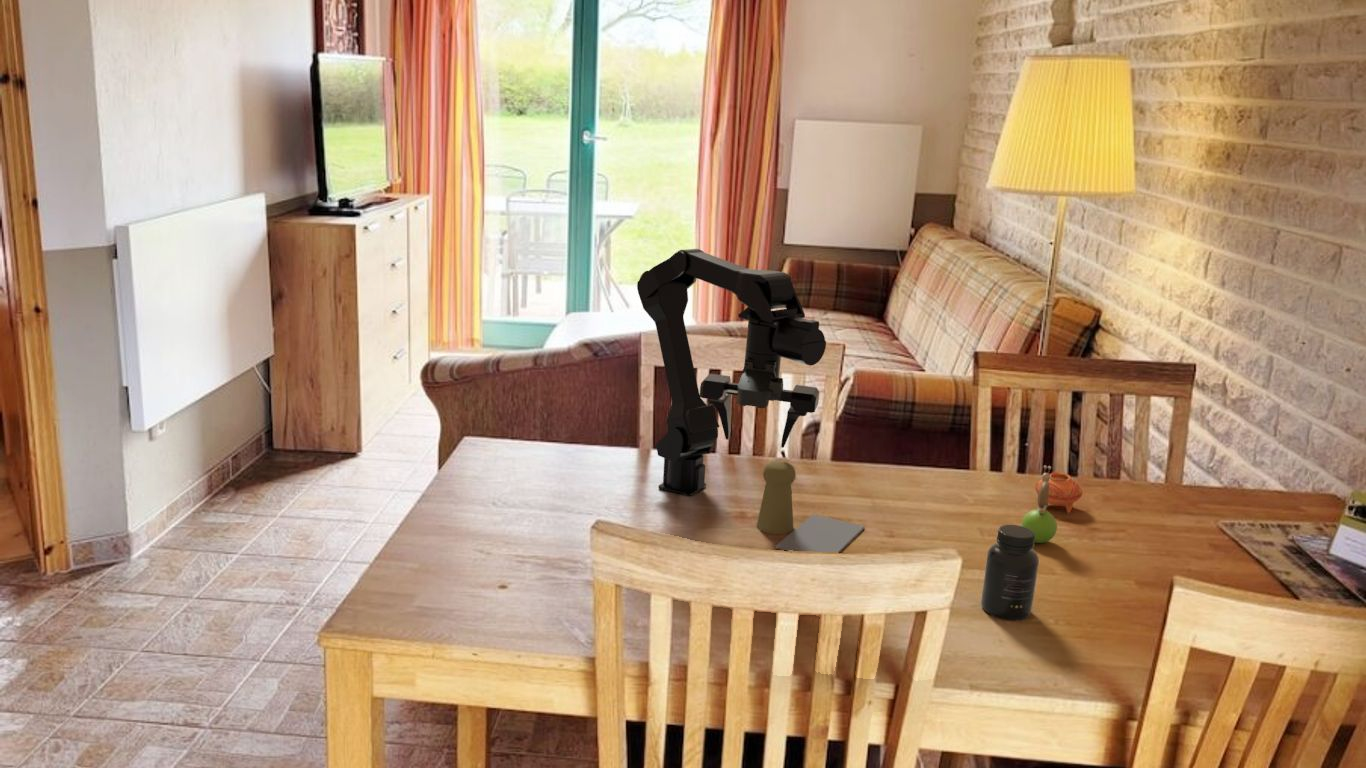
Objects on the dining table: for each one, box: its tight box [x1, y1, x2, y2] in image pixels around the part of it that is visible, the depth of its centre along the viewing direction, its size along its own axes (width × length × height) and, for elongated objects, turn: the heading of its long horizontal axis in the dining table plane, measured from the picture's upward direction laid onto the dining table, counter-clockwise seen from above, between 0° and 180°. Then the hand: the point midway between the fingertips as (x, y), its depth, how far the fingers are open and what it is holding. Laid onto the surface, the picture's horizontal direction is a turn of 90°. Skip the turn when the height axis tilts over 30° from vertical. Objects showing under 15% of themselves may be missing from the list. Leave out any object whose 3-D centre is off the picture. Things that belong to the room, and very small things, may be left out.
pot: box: [1034, 471, 1083, 514], centre depth 190 cm, size 8×8×7 cm
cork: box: [756, 460, 796, 535], centre depth 173 cm, size 6×6×11 cm
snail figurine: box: [1021, 465, 1058, 544], centre depth 173 cm, size 5×6×12 cm
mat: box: [775, 513, 865, 553], centre depth 171 cm, size 9×16×1 cm, turn 152°
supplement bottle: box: [980, 524, 1040, 621], centre depth 148 cm, size 7×7×12 cm
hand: (755, 442), depth 175 cm, fingers open, 9 cm apart
